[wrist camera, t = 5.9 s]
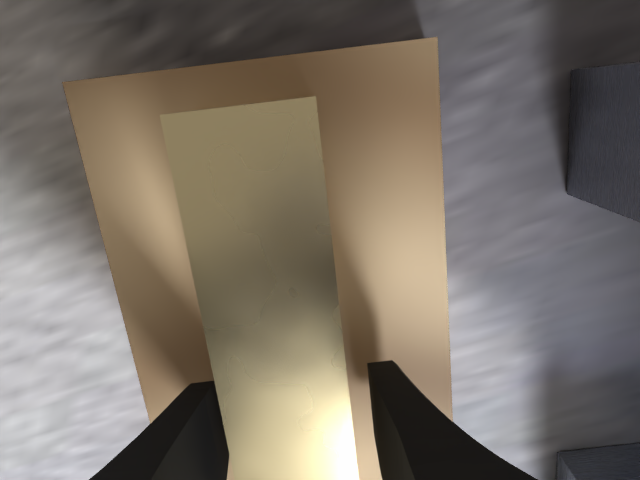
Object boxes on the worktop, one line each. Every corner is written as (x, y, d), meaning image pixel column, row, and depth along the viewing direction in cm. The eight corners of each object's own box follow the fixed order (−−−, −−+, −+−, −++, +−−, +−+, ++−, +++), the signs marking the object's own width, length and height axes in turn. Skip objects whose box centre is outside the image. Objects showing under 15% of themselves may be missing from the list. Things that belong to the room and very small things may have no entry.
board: (450, 564, 16) (459, 594, 15) (208, 590, 16) (201, 623, 15) (426, 41, 11) (437, 36, 10) (83, 83, 11) (62, 82, 10)
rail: (368, 577, 14) (380, 677, 12) (282, 587, 14) (277, 688, 12) (313, 95, 10) (315, 96, 8) (194, 110, 10) (159, 114, 8)
